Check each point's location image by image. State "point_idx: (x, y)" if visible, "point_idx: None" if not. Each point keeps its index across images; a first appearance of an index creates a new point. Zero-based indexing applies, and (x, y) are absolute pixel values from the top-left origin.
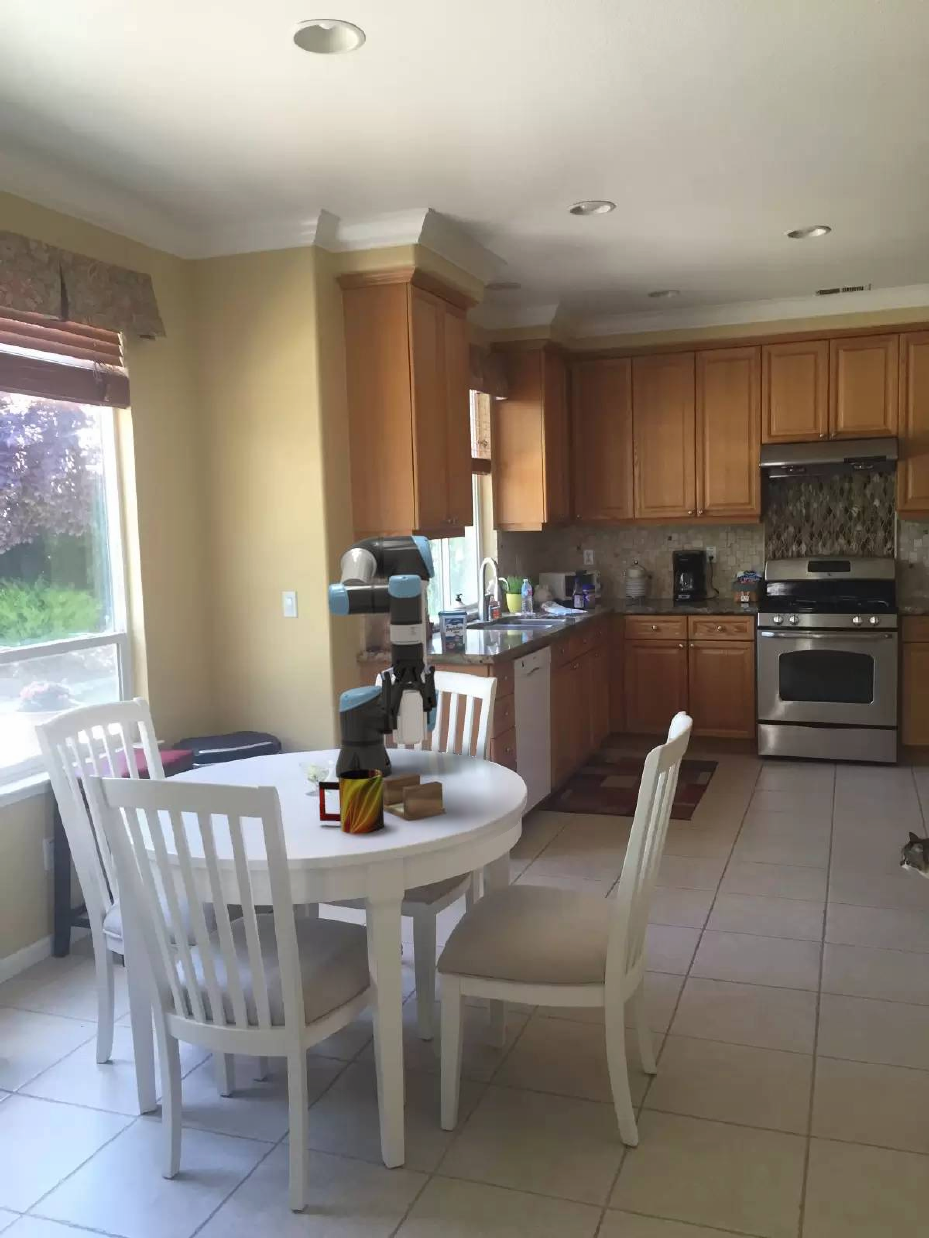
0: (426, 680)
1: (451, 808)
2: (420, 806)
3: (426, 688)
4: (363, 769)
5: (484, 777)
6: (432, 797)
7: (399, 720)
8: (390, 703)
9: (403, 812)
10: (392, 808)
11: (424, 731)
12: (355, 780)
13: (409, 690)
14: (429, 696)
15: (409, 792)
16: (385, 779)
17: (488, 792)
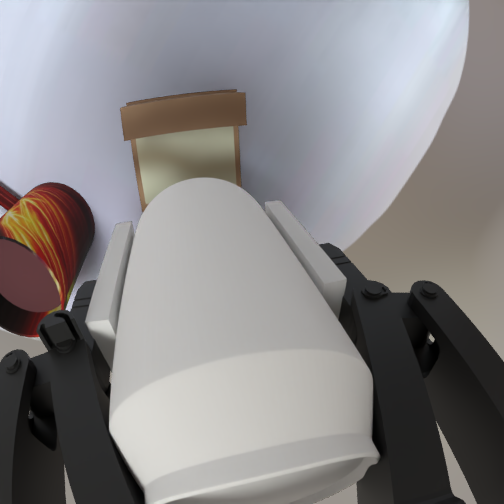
0: (502, 467)
1: (269, 189)
2: None
3: (478, 402)
4: (18, 244)
5: (434, 40)
6: None
7: None
8: (60, 459)
9: (146, 203)
10: (137, 154)
11: None
12: (5, 328)
13: (346, 452)
14: (432, 375)
15: None
16: (128, 116)
17: (389, 130)
